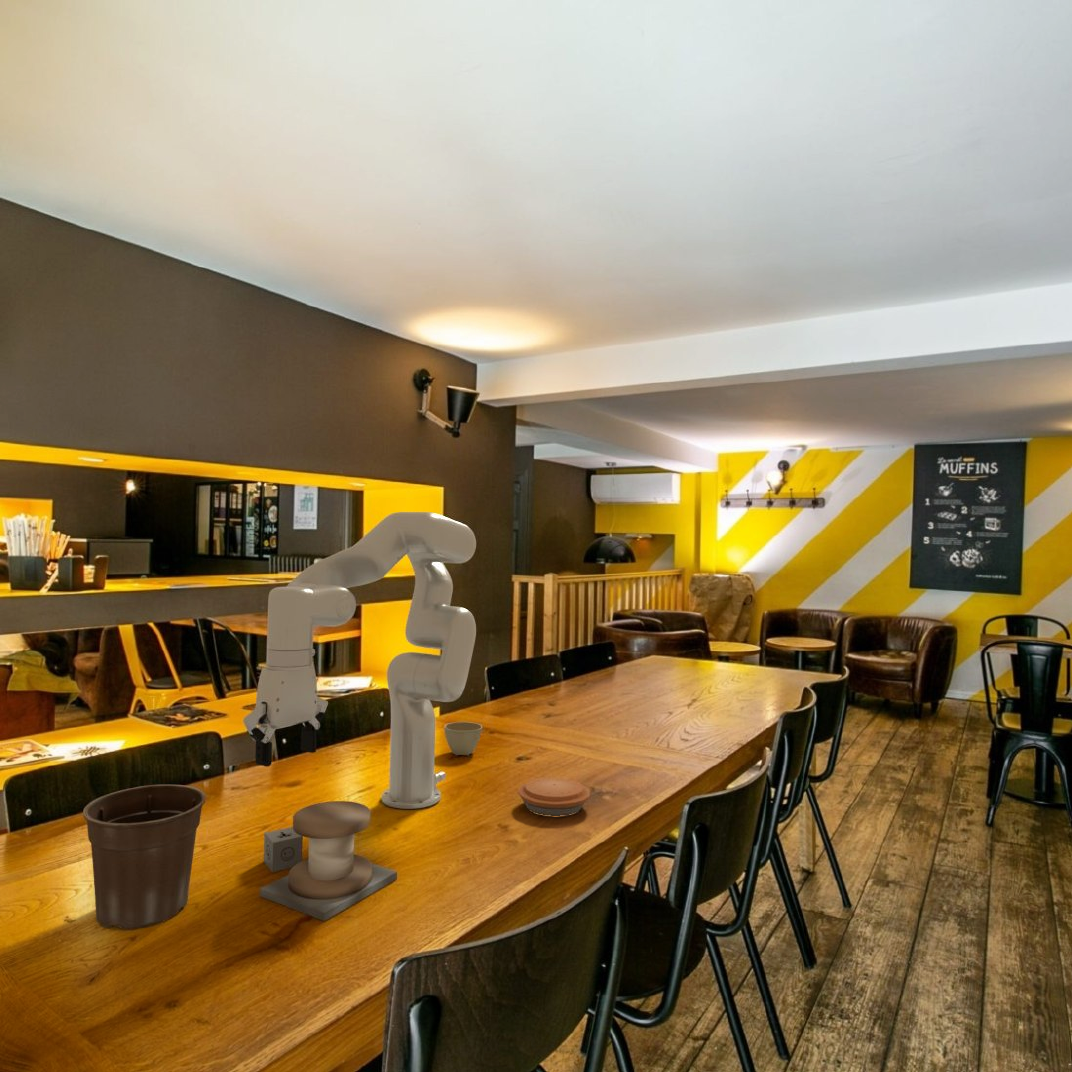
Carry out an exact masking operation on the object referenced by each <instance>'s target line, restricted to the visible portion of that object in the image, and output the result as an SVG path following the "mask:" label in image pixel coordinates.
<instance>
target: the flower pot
mask: <svg viewBox="0 0 1072 1072" xmlns="http://www.w3.org/2000/svg"><path fill="white" fill-rule="evenodd" d="M443 727H444V734H445V735H444V736H445V739H446V743H447V745H448V747H449V749H450V751H451V752H452V754H453V755H454V754H455V755H454V756H458V755H467V756H470V755H469V754H471V753H472V754H473V753H474V751H475V749H477V745H478V744H479V741H480V738H481V735H482V731H483V726H482V724H479V723H477V722H471V721H457V722H455V721H454V722H450V723H449V722H448V723H446V724H445V725H444V726H443ZM472 754H471V755H472Z"/></svg>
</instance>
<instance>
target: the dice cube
mask: <svg viewBox="0 0 1072 1072" xmlns="http://www.w3.org/2000/svg"><path fill="white" fill-rule="evenodd" d="M263 837H264V839H263V840H264V841H263V842H264V843H263V863H265V866H267V868H268V869H269V870H270V871H271V873H275V872H279V871H283V870H288V869H292V867H294V866H295V865H296V864H298V863H299V862H301V861H303V840H304V839H303V837H304V836H301V835H299V834H297V833H295V832H294V830H293V826H290V827H286V828H281V829H277V830H272V831H267V832H264V836H263Z"/></svg>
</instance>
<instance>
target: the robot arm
mask: <svg viewBox="0 0 1072 1072" xmlns="http://www.w3.org/2000/svg"><path fill="white" fill-rule="evenodd" d="M476 548H477V540H476V536H475V533H474V532H473V530H472V529H471V528H470V527H469V526H468V525H467V524H464V523H462V522H459V521H456V520H454V519H451V518H449V517H446V516H444V515H442V514H439V513H435V512H430V511H399V512H393V513H390V514H388V515H387V516H385V518H383V519H382V520H381V521H379V523H378V524H377V525H375V526H374V527H373V528H371V530H370V531H368V533H366V534H365V535H364V536H363V537H361V539H359V540H358V541H357V542H356V543H355V544H354V545H353V546H350V547H347V548H346V549H343V550H340V551H338V552H336V553H334V554H331V555H330V556H327V557H325V558H322V559H320V560H318V561H317V562H315V563H312V564H311V565H308V567H306V568H305V569H304V570H302V571H301V572H299V574H298V575H296V577H294V578H293V579H292V580H291V581H290V582H289V583H288V584H287V585H286V586H277V587H274V588H272V589H271V590H270V591H269V594H268V603H267V631H266V632H267V633H266V665H265V666H266V667H262V668H261V672H260V674H259V679H258V684H257V689H256V699H255V708H254V709H253V710H252V711H251V712H249V714H247V715H246V716H245V717H244V718H243V720H242V721H243V725H244V727H245V728H246V732H247V734H248V735H249V736H250V737H251V738H252V740H253V741H255V756H254V758H255V764H256V765H259V766H263V767H271V765H272V762H273V761H272V760H273V759H272V758H273V757H272V756H273V743H272V741H270V739H271V738H272V736H273V734H274V733H275V731H276V730H278V729H283V728H287V727H292V726H294V725H295V726H296V725H300V724H302V725H303V726H304V727H301V731H300V732H301V733H300V735H301V736H300V750H301V751H303V752H306V753H311V754H313V753H316V752H317V731H318V730H319V729H320V727H321V722H322V721H323V719H324V717H325V712H326V711H327V707H328V705H329V702H328V700H325V699H323V698H322V697H319V696H318V687H317V686H318V685H317V676H316V669H315V664H313V657H314V656H315V654H316V649H314V647H313V646H314V645H313V644H314V627H318V626H319V627H329V628H330V627H334V628H335V627H339V626H342V625H344V624H346V623H348V622H349V621H350V620H351V619H352V618H353V616H354V615H355V612H356V609H357V604H356V598H355V595H354V594H353V593H352V592H351V591H350V590H349V588H354V587H360V586H363V585H368V584H371V583H374V582H376V581H379V580H382V579H383V578H384V577H385V576H386V575H388V573H389V572H391V570H392V569H393V568H394V567H395V566H396V565H397V564H398V563H399V562H400V561H401V560H402V559H403V558H404V557H406V556H407V557H408V560H409V562H410V565H411V567H412V569H413V572H414V579H415V582H414V583H415V584H414V589H413V590H414V591H413V594H412V599H411V603H410V607H409V611H408V614H407V618H406V619H407V620H406V625H405V629H404V630H405V632H404V633H405V635H404V636H405V638H406V641H407V642H408V643H409V644H411V645H413V646H414V647H418V648H423V649H424V648H425V649H433V650H441V651H442V652H441V654H432V653H425V652H416V651H415V652H414V651H413V652H411V651H409V652H402V653H400V654H398V655H396V656H394V657H393V659H391V661H390V662H389V664H388V667H387V672H386V680H387V687H388V692H389V699H390V700H389V701H390V742H389V743H390V744H389V745H390V746H389V748H390V749H389V787H388V789H386V790H384V791H383V792H382V794H381V802H382V803H383V804H384V805H386V806H388V807H391V808H393V809H394V808H395V809H404V810H412V809H413V810H415V809H423V808H427V807H431V806H433V805H436V804H437V803H438V802H440V800H441V798H442V796H441V795H442V793H441V791H440V790H439V789H438V788H437V784H438V783H439V782H442V781H444V780H445V779H446V777H447V774H446V772H445V771H443V770H442V771H441V770H440V771H438V772H437V773H436V772H435V755H436V753H435V752H436V751H435V748H436V714H435V710H434V708H433V704H432V702H431V701H436V702H443V703H451V702H455V701H457V700H458V699H460V697H461V696H462V694H463V693H464V690H465V687H466V686H467V685H466V684H467V680H468V675H469V672H470V667H471V662H472V656H473V652H474V647H475V642H476V637H477V625H476V621H475V617H474V615H473V614H472V612H471V611H470V610H468V609H466V608H464V607H461V606H455V605H454V606H451V603H452V595H453V591H454V590H453V589H454V584H453V579H452V577H451V574H450V573H449V570H448V569H447V568H446V565H445V564H463V563H467V562H468V561H469V560H471V559H472V557H474V554H475V552H476Z"/></svg>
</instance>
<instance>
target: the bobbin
mask: <svg viewBox="0 0 1072 1072" xmlns="http://www.w3.org/2000/svg"><path fill="white" fill-rule="evenodd" d="M370 824H371V809H370V808H369V807H368V806H366V805H365V804H362V803H359V802H356V801H344V800H333V801H324V802H318V803H314V804H310V805H307V806H305V807H302V808H300V809H299V810H298V811H296V812H295V813H294V815H293V816H292V827H293V830H294V832H295V833H297V834H299V835H301V836H303V837H304V838H308V858H306V859H304V860H303V859H302V861H301V862H299V863H298V864H296V865H295V866H294V867H292V868H290V870H289V872H288V874H287V875H286V876H283V877H281V878H279V879H277V880H275V881H273V882H270V883H268V884H267V885H265V886H263V887H260V888H259V896H260V897H262V898H263V899H266V900H269V901H270V902H275V903H276V904H280V905H281V906H284V907H286V908H290V909H292V910H295V911H297V912H299V913H302V914H304V915H308V916H310V917H313V918H315V919H318V920H320V921H323V922H326V921H328V920H329V919H331V918H332V917H334V916H336V915H337V914H339V913H341V912H342V911H344V910H346V909H348V908H350V907H352V906H353V905H355V904H356V903H358V902H360V901H362V900H364V899H365V898H367V897H368V896H370V895H372V894H374V893H376V892H377V891H379V890H380V889H382V888H384V887H386V886H387V885H389V884H390V883H393V882H394V881H396V880H397V879H398V871H396V870H393V869H390V868H387V867H384V866H381V865H378V864H376V863H375V864H374V863H372V862H371V861H370V860H369V859H367V857H364V856H361V855H358V854H354V852H355V850H354V849H355V834H358V833H360V832H362V831H364V830H366V829H367V828H368V826H370Z"/></svg>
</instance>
